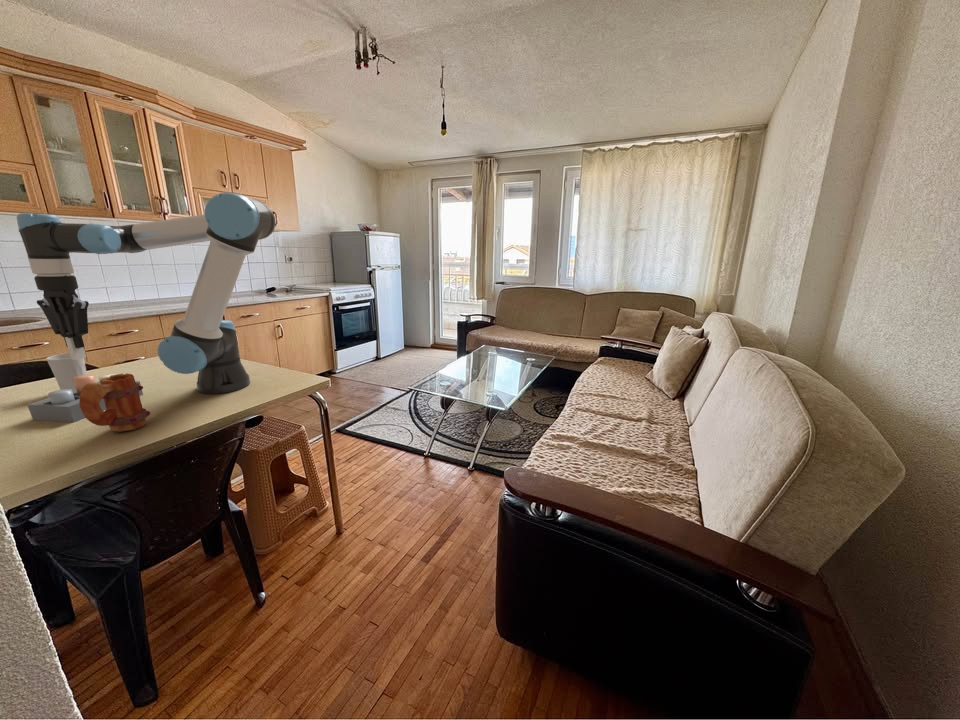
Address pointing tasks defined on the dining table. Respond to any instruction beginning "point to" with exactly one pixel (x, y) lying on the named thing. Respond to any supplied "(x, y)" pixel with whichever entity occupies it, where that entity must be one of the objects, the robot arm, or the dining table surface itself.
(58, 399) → the button slate
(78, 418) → the grey tray
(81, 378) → the button terracotta
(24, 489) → the dining table surface
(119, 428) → the mug
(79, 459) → the dining table surface
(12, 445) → the dining table surface
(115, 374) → the button ivory
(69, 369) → the cup
